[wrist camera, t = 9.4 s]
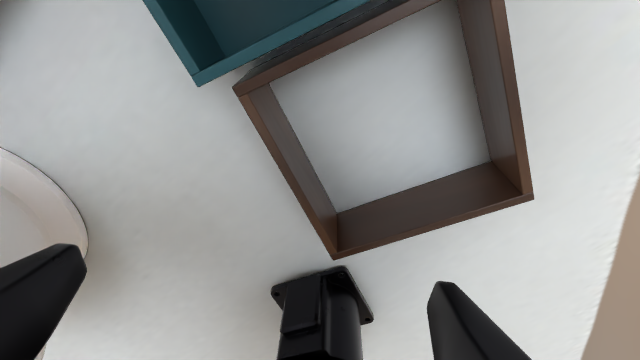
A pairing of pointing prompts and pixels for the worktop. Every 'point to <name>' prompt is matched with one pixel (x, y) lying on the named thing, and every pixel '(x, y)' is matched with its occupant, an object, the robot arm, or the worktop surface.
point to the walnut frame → (425, 200)
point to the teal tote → (237, 29)
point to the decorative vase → (34, 213)
